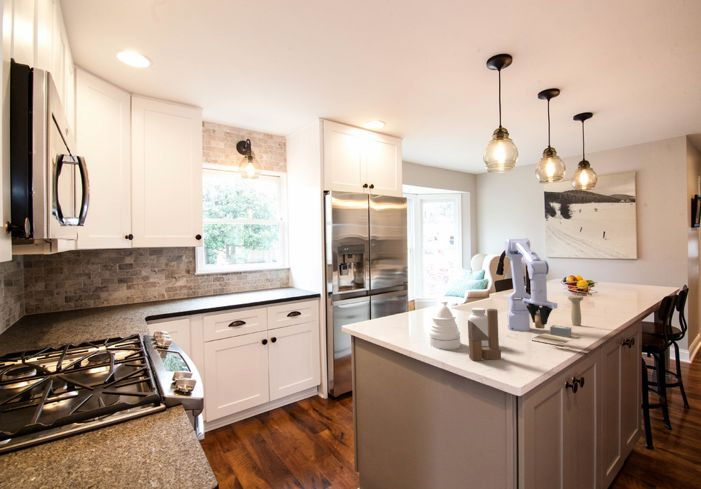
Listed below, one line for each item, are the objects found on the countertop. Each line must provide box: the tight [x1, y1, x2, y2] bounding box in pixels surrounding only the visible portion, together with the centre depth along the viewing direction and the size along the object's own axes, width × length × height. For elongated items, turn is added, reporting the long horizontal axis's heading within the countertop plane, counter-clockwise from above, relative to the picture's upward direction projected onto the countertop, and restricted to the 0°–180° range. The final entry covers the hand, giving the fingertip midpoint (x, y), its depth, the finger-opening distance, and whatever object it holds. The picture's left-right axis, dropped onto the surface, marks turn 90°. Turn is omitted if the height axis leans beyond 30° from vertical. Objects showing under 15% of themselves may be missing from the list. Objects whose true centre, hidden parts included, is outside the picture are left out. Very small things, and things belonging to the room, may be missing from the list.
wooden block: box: [467, 308, 502, 362], centre depth 123 cm, size 4×11×18 cm, turn 96°
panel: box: [531, 330, 581, 348], centre depth 143 cm, size 20×12×1 cm, turn 128°
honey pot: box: [428, 300, 461, 350], centre depth 142 cm, size 13×13×18 cm
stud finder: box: [549, 324, 573, 338], centre depth 145 cm, size 4×7×4 cm, turn 42°
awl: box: [534, 311, 546, 329], centre depth 136 cm, size 3×3×6 cm
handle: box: [567, 295, 584, 327], centre depth 161 cm, size 5×6×15 cm
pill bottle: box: [468, 307, 488, 348], centre depth 140 cm, size 8×8×15 cm
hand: (539, 323), depth 136 cm, fingers closed on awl, 3 cm apart
